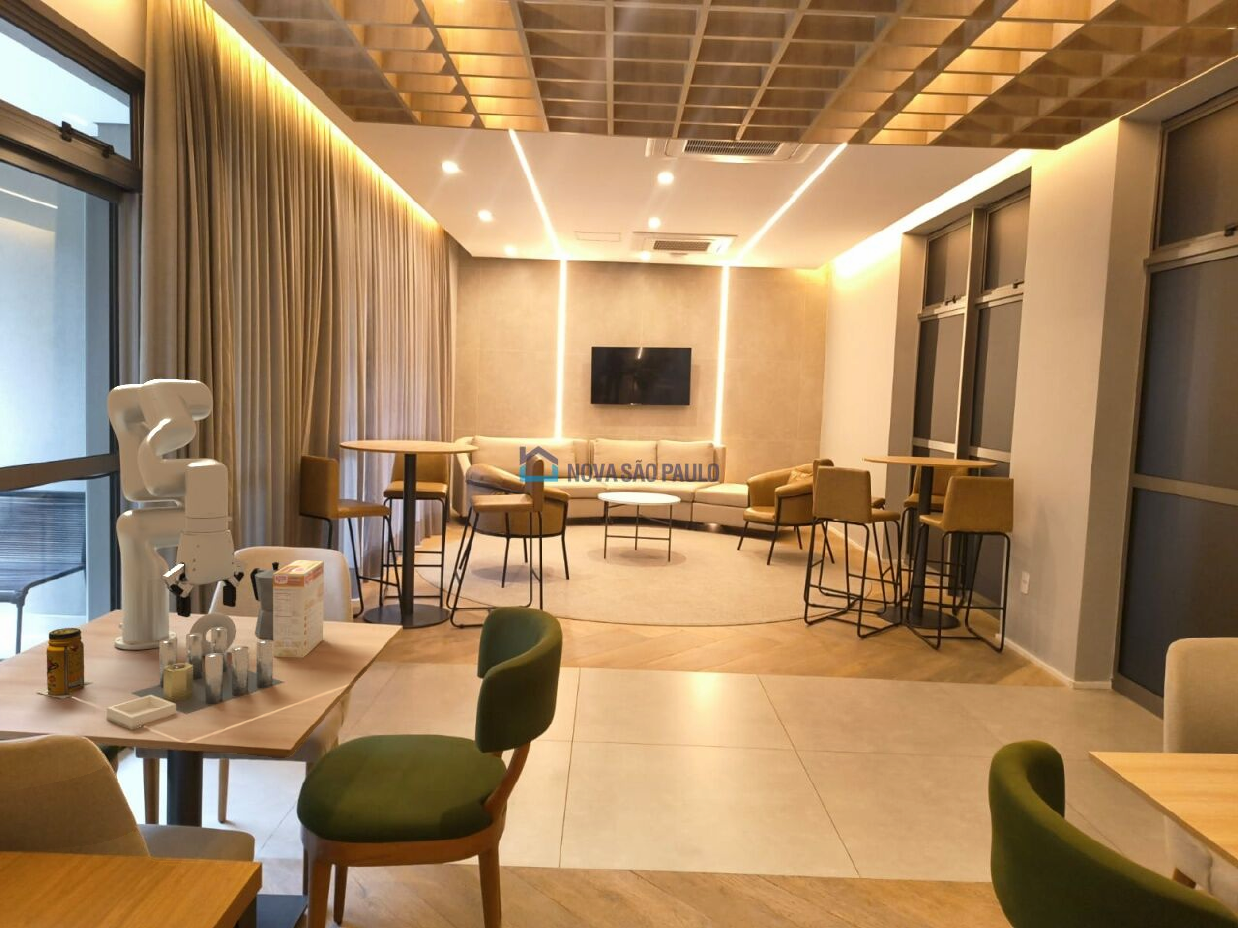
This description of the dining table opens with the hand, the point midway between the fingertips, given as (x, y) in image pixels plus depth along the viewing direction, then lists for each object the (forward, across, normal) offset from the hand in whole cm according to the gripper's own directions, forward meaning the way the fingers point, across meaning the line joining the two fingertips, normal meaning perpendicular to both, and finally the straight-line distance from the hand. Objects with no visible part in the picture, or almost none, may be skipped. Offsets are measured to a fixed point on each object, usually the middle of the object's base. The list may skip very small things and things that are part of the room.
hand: (207, 610), depth 162 cm
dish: (+16, +15, +3) cm, 22 cm away
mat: (+16, -1, 0) cm, 16 cm away
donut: (+16, -14, -18) cm, 28 cm away
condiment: (+16, +14, -22) cm, 31 cm away
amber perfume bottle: (+16, +6, 0) cm, 17 cm away
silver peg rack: (+16, -2, 0) cm, 16 cm away
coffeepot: (+16, -33, -23) cm, 43 cm away
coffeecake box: (+16, -28, -8) cm, 34 cm away
